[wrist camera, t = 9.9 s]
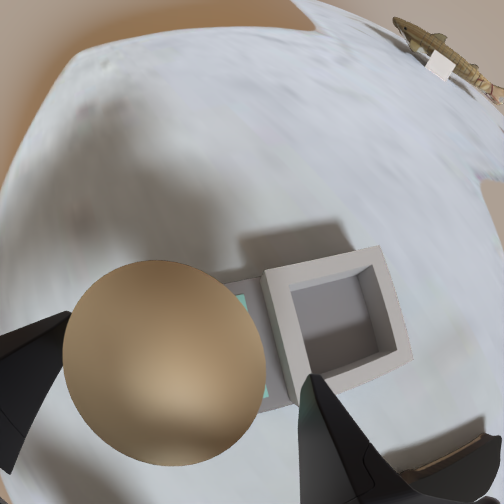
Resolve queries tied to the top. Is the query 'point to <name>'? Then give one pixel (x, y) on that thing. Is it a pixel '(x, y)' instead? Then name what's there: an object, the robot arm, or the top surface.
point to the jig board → (326, 323)
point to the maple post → (164, 363)
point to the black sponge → (459, 471)
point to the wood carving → (446, 59)
